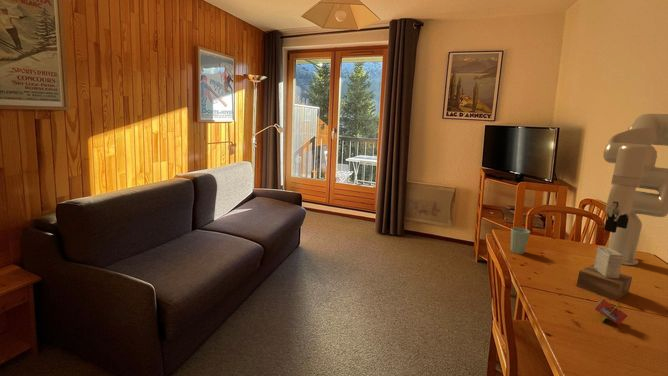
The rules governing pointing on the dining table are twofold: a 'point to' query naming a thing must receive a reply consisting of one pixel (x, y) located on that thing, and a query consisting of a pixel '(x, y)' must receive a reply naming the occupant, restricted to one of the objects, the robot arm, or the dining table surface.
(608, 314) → the geometric puzzle
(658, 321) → the dining table surface
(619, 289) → the walnut block
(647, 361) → the dining table surface
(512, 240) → the cup
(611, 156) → the robot arm
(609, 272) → the medicine box
